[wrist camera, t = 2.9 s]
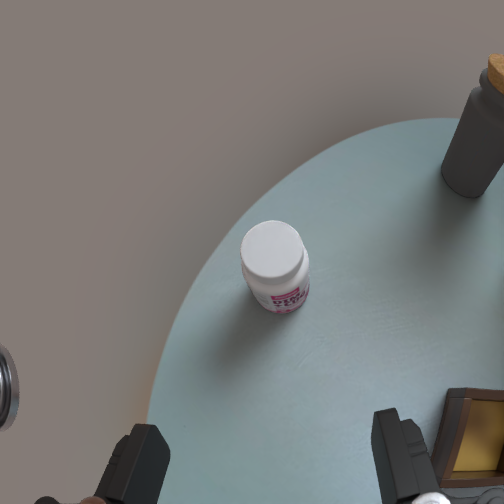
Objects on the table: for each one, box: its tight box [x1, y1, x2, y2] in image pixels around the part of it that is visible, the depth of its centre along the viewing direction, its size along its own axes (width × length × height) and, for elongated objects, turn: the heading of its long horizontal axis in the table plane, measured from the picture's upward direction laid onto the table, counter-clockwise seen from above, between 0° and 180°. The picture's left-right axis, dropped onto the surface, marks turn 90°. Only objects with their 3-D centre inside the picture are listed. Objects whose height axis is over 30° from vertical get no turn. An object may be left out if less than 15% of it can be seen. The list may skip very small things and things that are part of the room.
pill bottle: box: [240, 221, 309, 313], centre depth 24 cm, size 5×5×8 cm
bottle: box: [442, 54, 504, 198], centre depth 22 cm, size 6×6×15 cm
